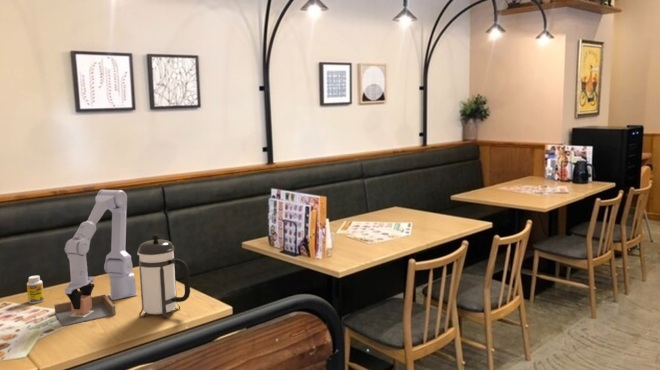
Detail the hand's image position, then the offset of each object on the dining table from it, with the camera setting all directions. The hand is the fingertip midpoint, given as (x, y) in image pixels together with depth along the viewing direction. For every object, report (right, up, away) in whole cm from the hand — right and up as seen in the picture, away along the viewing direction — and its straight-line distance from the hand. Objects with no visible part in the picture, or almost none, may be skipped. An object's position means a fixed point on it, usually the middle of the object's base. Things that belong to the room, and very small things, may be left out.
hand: (81, 306), depth 202 cm
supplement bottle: (-25, -2, +16) cm, 30 cm away
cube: (0, -2, 0) cm, 2 cm away
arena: (+1, -3, +1) cm, 3 cm away
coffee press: (+30, -3, +1) cm, 30 cm away
